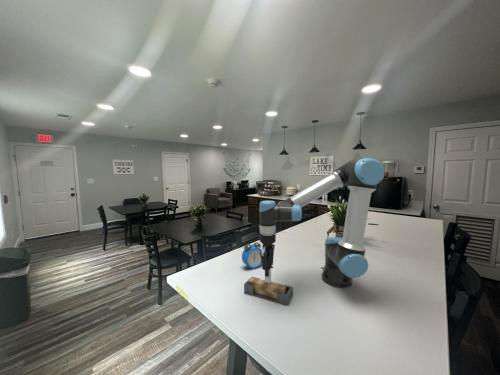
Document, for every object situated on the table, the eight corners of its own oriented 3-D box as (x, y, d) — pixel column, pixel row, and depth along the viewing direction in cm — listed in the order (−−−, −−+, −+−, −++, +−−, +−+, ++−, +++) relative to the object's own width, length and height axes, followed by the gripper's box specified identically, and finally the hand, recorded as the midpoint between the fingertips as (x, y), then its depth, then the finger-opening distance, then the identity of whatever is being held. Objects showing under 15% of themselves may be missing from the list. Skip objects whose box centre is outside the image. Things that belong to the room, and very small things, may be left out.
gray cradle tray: (292, 296, 95) (292, 286, 95) (287, 306, 88) (287, 295, 87) (251, 285, 105) (251, 276, 105) (244, 293, 98) (244, 283, 98)
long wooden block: (286, 295, 94) (285, 285, 94) (283, 300, 91) (283, 289, 90) (252, 286, 103) (251, 277, 102) (248, 290, 99) (248, 280, 99)
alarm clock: (246, 271, 120) (245, 247, 119) (241, 267, 126) (241, 244, 125) (264, 266, 127) (264, 243, 126) (259, 262, 132) (258, 240, 131)
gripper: (265, 229, 102) (266, 274, 104) (254, 236, 91) (254, 286, 92) (279, 231, 99) (279, 277, 100) (269, 238, 87) (270, 290, 89)
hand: (267, 281), depth 96 cm, fingers closed
